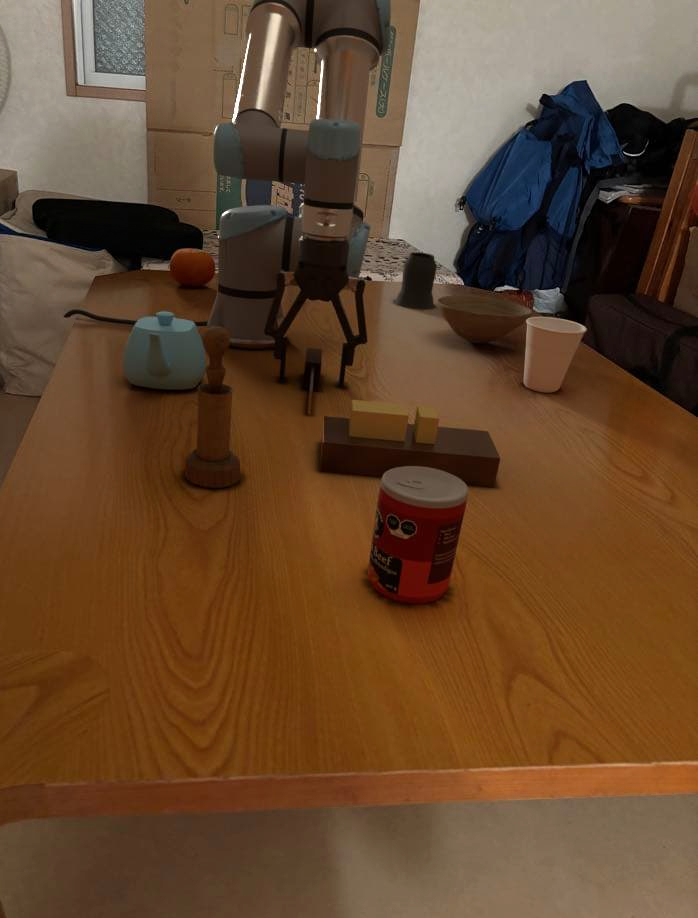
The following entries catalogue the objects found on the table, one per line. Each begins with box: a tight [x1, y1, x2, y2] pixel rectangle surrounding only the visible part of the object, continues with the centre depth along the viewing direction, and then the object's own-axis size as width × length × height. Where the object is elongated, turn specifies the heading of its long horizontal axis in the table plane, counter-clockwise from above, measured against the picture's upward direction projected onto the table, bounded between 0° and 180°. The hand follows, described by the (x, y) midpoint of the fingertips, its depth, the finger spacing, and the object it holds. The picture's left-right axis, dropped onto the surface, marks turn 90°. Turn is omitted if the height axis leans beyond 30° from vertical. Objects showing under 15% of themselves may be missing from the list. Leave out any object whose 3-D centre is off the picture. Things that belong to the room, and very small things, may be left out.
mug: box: [395, 251, 438, 310], centre depth 183 cm, size 12×9×11 cm
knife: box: [302, 347, 323, 415], centre depth 121 cm, size 19×3×5 cm, turn 177°
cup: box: [522, 316, 588, 393], centre depth 132 cm, size 10×10×11 cm
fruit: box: [169, 247, 216, 287], centre depth 181 cm, size 11×10×8 cm
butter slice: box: [413, 405, 440, 444], centre depth 98 cm, size 2×4×4 cm, turn 177°
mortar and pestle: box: [184, 327, 241, 489], centre depth 89 cm, size 7×6×18 cm
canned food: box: [367, 466, 469, 604], centre depth 73 cm, size 8×8×11 cm
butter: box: [349, 399, 410, 441], centre depth 98 cm, size 7×4×4 cm, turn 87°
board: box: [319, 415, 501, 488], centre depth 100 cm, size 22×9×4 cm, turn 87°
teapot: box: [122, 310, 207, 391], centre depth 119 cm, size 13×11×18 cm
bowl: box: [436, 294, 533, 344], centre depth 156 cm, size 18×18×8 cm
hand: (311, 381), depth 127 cm, fingers open, 9 cm apart
